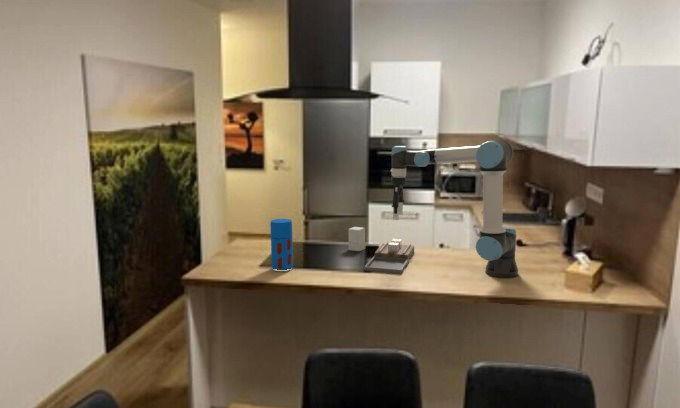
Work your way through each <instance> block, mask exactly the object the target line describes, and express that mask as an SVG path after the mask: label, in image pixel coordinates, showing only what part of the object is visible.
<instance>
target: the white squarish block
mask: <svg viewBox="0 0 680 408" xmlns="http://www.w3.org/2000/svg"><path fill="white" fill-rule="evenodd" d="M390 242H392V243H399V249H400V248H401V247H402V245H403V244H402V242H403V240H402V239H400V238H398V239H397V238H392V239H391V241H390Z"/></svg>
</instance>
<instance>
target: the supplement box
mask: <svg viewBox="0 0 680 408" xmlns="http://www.w3.org/2000/svg"><path fill="white" fill-rule="evenodd" d="M365 249H366V228H365V227H361V226H360V227H359V226H353V227H350V228H348V251H355V252H361V251H363V250H365Z"/></svg>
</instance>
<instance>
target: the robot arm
mask: <svg viewBox="0 0 680 408" xmlns="http://www.w3.org/2000/svg"><path fill="white" fill-rule="evenodd" d="M513 156H514V149H513V146H512V144H511V143H510V142H508V141H507V140H504V139H503V140H502V139H498V140H488V141H486V142H483V143H481V144H480V145H471V146H460V147H446V148H445V147H444V148H429V149H423V150H408V147H407V146H406V145H395V146H393V147H392V148H391V169H390V171H389V172H391V178H390V181H391V182H390V184H392V185H395V187H393V199H392V204H391V208H392V220H394V221H399V220H400V219H399V215H400V216H403V213H404V210H403V208H404V203H405V200H404V186H405V185H406V183H407V177H406V176H407V166H409V167H418V168H420V167H422V168H423V167H427V166H428V165H439V164H440V165H441V164H456V163H457V164H458V163H474V162H475V163H476V162H477V164H478V166H479V173H481V174H482V193H483V194H482V227H481V228H479V232H478V233H479V239H478V240H477V241H476V244H475V250H476V252H477V254H478V255H479V257H480V258H481V259H483V260H485V261H487V263H486V266H485V274H487V275H488V276H491V277H494V278H500V279H501V278H504V279H508V278H509V279H510V278H515V277H517V276H518V275H519V268H518V265H517V261H516V245H517V230H516V228H514V227H508V226H503V218H504V217H503V215H504V214H503V212H504V211H503V207H504V206H503V205H504V199H503V197H504V195H503V194H504V191H503V190H504V174H505V173H506V172H507V171H508V170H507V167H508V165H507V164H508V163H509V162H510V161H511V160H512V158H513Z"/></svg>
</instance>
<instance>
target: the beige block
mask: <svg viewBox="0 0 680 408" xmlns="http://www.w3.org/2000/svg"><path fill="white" fill-rule="evenodd" d="M398 251H399V243H392V242H391V241H390V242H388V252H398Z"/></svg>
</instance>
